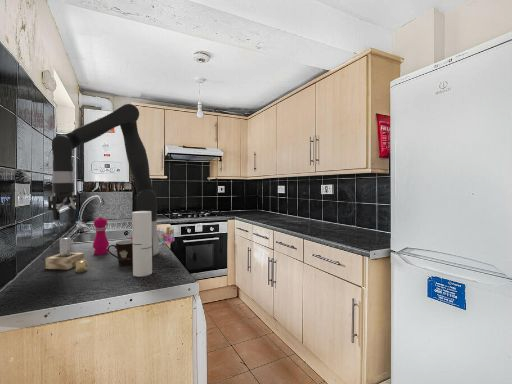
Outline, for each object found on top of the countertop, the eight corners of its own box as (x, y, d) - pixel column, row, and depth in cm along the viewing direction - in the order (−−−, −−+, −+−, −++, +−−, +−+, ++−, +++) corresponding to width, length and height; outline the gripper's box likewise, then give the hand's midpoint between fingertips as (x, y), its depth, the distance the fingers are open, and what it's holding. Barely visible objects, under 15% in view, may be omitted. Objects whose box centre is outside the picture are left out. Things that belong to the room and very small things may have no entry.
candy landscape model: (144, 238, 181) (143, 224, 181) (179, 238, 180) (179, 224, 180) (124, 247, 156) (124, 231, 156) (165, 247, 155) (165, 231, 155)
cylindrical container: (136, 270, 114) (135, 211, 113) (154, 270, 114) (153, 210, 113) (130, 276, 106) (129, 213, 106) (149, 276, 107) (148, 212, 106)
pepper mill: (101, 255, 137) (101, 215, 136) (89, 254, 139) (88, 215, 138) (112, 251, 144) (111, 214, 143) (100, 251, 146) (99, 213, 145)
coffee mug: (141, 262, 126) (141, 240, 125) (126, 267, 118) (126, 244, 117) (121, 259, 130) (121, 239, 129) (106, 265, 121) (105, 242, 121)
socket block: (84, 262, 125) (84, 252, 125) (67, 269, 115) (67, 258, 115) (64, 261, 126) (63, 252, 126) (45, 268, 116) (45, 258, 116)
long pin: (73, 264, 122) (72, 237, 122) (66, 267, 118) (65, 239, 118) (65, 264, 123) (64, 237, 122) (57, 266, 119) (57, 239, 118)
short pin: (89, 269, 115) (89, 260, 115) (82, 272, 111) (82, 262, 111) (80, 269, 116) (80, 259, 116) (73, 272, 112) (73, 262, 112)
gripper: (58, 182, 112) (59, 221, 112) (83, 181, 126) (84, 216, 127) (41, 182, 112) (42, 221, 113) (67, 182, 127) (69, 216, 127)
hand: (64, 218), depth 120 cm, fingers open, 8 cm apart
